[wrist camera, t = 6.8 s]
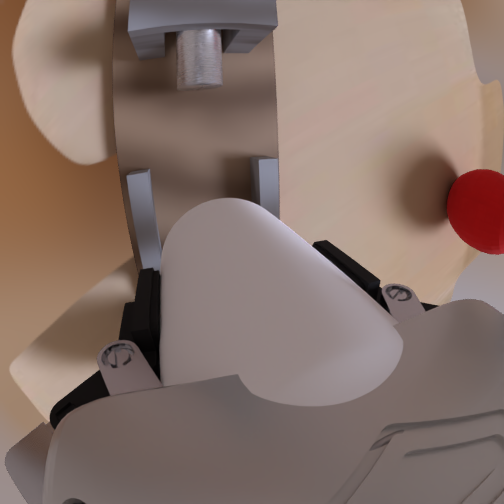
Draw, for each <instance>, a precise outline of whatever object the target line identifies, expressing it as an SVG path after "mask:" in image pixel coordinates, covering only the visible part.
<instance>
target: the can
mask: <svg viewBox="0 0 504 504" xmlns="http://www.w3.org/2000/svg"><path fill="white" fill-rule="evenodd" d="M160 276H161V277H160V345H159V353H160V376H161V384H162V385H163V387H164V386H170V385H177V384H183V383H189V382H195V381H201V380H207V379H212V378H217V377H223V376H229V375H234V374H238V375H239V377H240V379H241V381H242V382H243V384H244V385H245V386H246V387H247V388H248V390H249V391H250V392H251V393H252V394H254V395H256V396H259V397H261V398H263V399H266V400H270V401H273V402H277V403H282V404H288V405H295V406H328V405H335V404H340V403H344V402H348V401H351V400H354V399H356V398H359V397H361V396H363V395H365V394H367V393H369V392H371V391H372V390H374V389H375V388H377V387H378V386H379V385H381V384H382V383H383V382H384V381H385V380H386V379H387V378H388V377H389V376H390V374H391V373H392V372H393V370H394V369H395V367H396V366H397V364H398V362H399V360H400V357H401V354H402V351H403V340H402V338H401V336H400V335H399V333H398V332H397V330H396V329H395V328H394V327H393V326H394V325H396V324H398V323H399V322H398V321H397V320H396V319H394V318H393V317H392V316H391V315H390V314H389V313H388V312H387V311H386V310H385V309H384V308H383V307H382V306H380V305H379V304H378V303H377V302H376V301H375V300H374V299H373V298H372V297H370V296H369V295H368V294H367V293H366V292H365V291H364V290H363V289H361V288H360V287H359V286H358V285H357V284H356V283H355V282H354V281H352V280H351V279H350V278H349V277H348V276H347V275H345V274H344V273H343V272H342V271H341V270H340V269H339V268H337V267H336V266H335V265H334V264H333V263H331V262H330V261H329V260H328V259H327V258H326V257H324V256H323V255H322V254H321V253H320V252H318V251H317V250H316V249H315V248H314V247H312V246H311V245H310V244H309V243H308V242H306V241H305V240H304V239H303V238H301V237H300V236H299V235H298V234H296V233H295V232H294V231H293V230H292V229H290V228H289V227H288V226H287V225H285V224H284V223H283V222H281V221H280V220H279V219H278V218H276V217H275V216H274V215H272V214H271V213H270V212H268V211H267V210H266V209H264V208H263V207H261V206H259V205H257V204H255V203H253V202H250V201H247V200H243V199H238V198H220V199H214V200H210V201H207V202H204V203H202V204H200V205H198V206H196V207H194V208H192V209H191V210H189V211H188V212H186V213H185V214H184V215H183V216H182V217H181V218H180V219H179V220H178V221H177V222H176V223H175V224H174V226H173V227H172V229H171V230H170V232H169V234H168V235H167V238H166V240H165V243H164V246H163V250H162V256H161V267H160ZM403 432H404V430H398V431H396V432H393V433H391V434H389V435H387V436H385V437H383V438H382V439H380V440H378V441H377V442H375V443H374V444H373V445H372V447H371V448H370V450H369V451H371V450H375V449H377V448H380V447H382V446H384V445H386V444H388V443H389V441H390V440H391V438H392V437H393V436H394V435H396V434H402V433H403Z"/></svg>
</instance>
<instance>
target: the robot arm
mask: <svg viewBox="0 0 504 504" xmlns="http://www.w3.org/2000/svg"><path fill="white" fill-rule="evenodd" d="M312 247H314V248H315V249H316V250H317V251H318V252H320V253H321V254H322V255H323V256H324V257H326V258H327V259H328V260H329V261H330V262H331V263H333V264H334V265H335V266H336V267H337V268H339V269H340V270H341V271H342V272H343V273H344V274H345V275H347V276H348V277H349V278H350V279H351V280H352V281H354V282H355V283H356V284H357V285H358V286H359V287H360V288H361V289H363V290H364V291H365V292H366V293H367V294H368V295H369V296H370V297H372V298H373V299H374V300H375V301H376V302H377V303H378V304H379V305H380V306H382V307H383V308H384V309H385V310H386V311H387V312H388V313H389V314H390V315H391V316H392V317H393V318H394V319H396V320H397V321H398V322H399V323H398V324H396V325H394V326H393V327H394V328H395V329H396V330H397V332H398V333H399V335H400V336H401V338H402V340H403V351H402V354H401V357H400V360H399V362H398V364H397V366H396V367H395V369H394V370H393V372H392V373H391V374H390V376H389V377H388V378H387V379H386V380H385V381H384V382H383V383H382V384H381V385H379V386H378V387H377V388H375V389H374V390H372V391H371V392H369V393H367V394H365V395H363V396H361V397H359V398H356V399H354V400H351V401H348V402H344V403H340V404H335V405H328V406H295V405H288V404H282V403H277V402H273V401H270V400H266V399H263V398H261V397H259V396H256V395H254V394H252V393H251V392H250V391H249V390H248V388H247V387H246V386H245V385H244V384H243V382H242V381H241V379H240V377H239V375H238V374H234V375H229V376H223V377H217V378H212V379H207V380H201V381H195V382H189V383H183V384H177V385H170V386H164V387H163V385H162V384H161V376H160V353H159V345H160V277H161V276H160V272H159V270H156V271H154V268H153V267H152V268H146V269H140V272H139V278H138V284H137V290H136V296H135V302H130V303H125V306H124V312H123V317H122V323H121V328H120V334H119V340H117V341H114V342H111V343H109V344H107V345H106V346H104V347H103V348H102V349H101V350H100V352H99V353H98V356H97V363H98V366H99V369H100V370H99V371H97V372H96V373H95V374H93V375H92V376H91V377H89V378H88V379H87V380H86V381H84V382H83V383H82V384H80V385H79V386H78V387H77V388H75V389H74V390H73V391H71V392H70V393H69V394H68V395H66V396H65V397H64V398H62V399H61V400H60V401H59V402H57V403H56V404H55V405H54V407H53V408H52V410H51V413H50V422H49V423H48V424H45V423H44V422H43V423H41V424H40V425H39V426H38V427H36V429H34V430H33V431H31V432H30V433H29V434H28V435H27V436H25V437H24V438H23V439H22V440H20V441H19V442H18V443H17V444H16V445H14V446H13V447H12V448H11V449H10V450H9V451H8V452H7V454H6V457H5V466H6V469H7V471H8V473H9V475H10V476H11V478H12V480H13V481H14V483H15V485H16V486H17V488H18V490H19V491H20V493H21V494H22V496H23V497H24V499H25V500H26V502H27V503H28V504H504V314H502V313H501V312H499V311H498V310H496V309H495V308H494V307H492V306H491V305H489V304H488V303H486V302H484V301H481V300H476V299H463V300H458V301H453V302H449V303H446V304H443V305H441V306H437V305H432V304H427V303H422V302H420V301H419V299H418V298H417V296H416V294H415V293H414V292H413V290H412V289H410V288H409V287H407V286H404V285H401V284H388V285H385V286H384V287H383V288H381V287H379V285H380V280H379V279H378V278H377V277H375V276H374V275H373V274H372V273H370V272H369V271H368V270H366V269H365V268H364V267H362V266H361V265H360V264H358V263H357V262H356V261H354V260H353V259H352V258H350V257H349V256H348V255H346V254H345V253H344V252H342V251H341V250H340V249H338V248H337V247H335V246H334V245H333V244H331V243H330V242H329V241H327V240H324V241H318V242H314V243H313V246H312ZM398 430H404V432H403V433H402V434H396V435H394V436H393V437H392V438H391V440H390V441H389V443H388V444H386V445H384V446H382V447H380V448H377V449H375V450H371V451H369V450H370V448H371V447H372V445H373V444H374V443H375V442H377V441H378V440H380V439H382V438H383V437H385V436H387V435H389V434H391V433H393V432H396V431H398Z"/></svg>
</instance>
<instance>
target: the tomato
mask: <svg viewBox="0 0 504 504" xmlns="http://www.w3.org/2000/svg"><path fill="white" fill-rule="evenodd" d="M447 214H448V218H449V221H450V224H451V225H452V227H453V229H454V230H455V232H456V233H457V234H458V235H459V237H460V238H461V239H462V240H463V241H464V242H466V243H467V244H468V245H470V246H471V247H473V248H475V249H477V250H479V251H481V252H484V253H487V254H496V255H499V254H504V175H502V174H500V173H498V172H496V171H492V170H487V169H477V170H473V171H470V172H467V173H465V174H463V175H461V176H460V177H459V178H458V179H457V180H456V181H455V182H454V183H453V185H452V187H451V189H450V192H449V195H448V200H447Z"/></svg>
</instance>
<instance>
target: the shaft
mask: <svg viewBox="0 0 504 504" xmlns="http://www.w3.org/2000/svg"><path fill="white" fill-rule="evenodd" d="M176 63H177V89H178V90H181V91H197V90H207V89H214V88H218V87H221V86H223V74H222V50H221V29H207V30H187V31H176Z"/></svg>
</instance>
